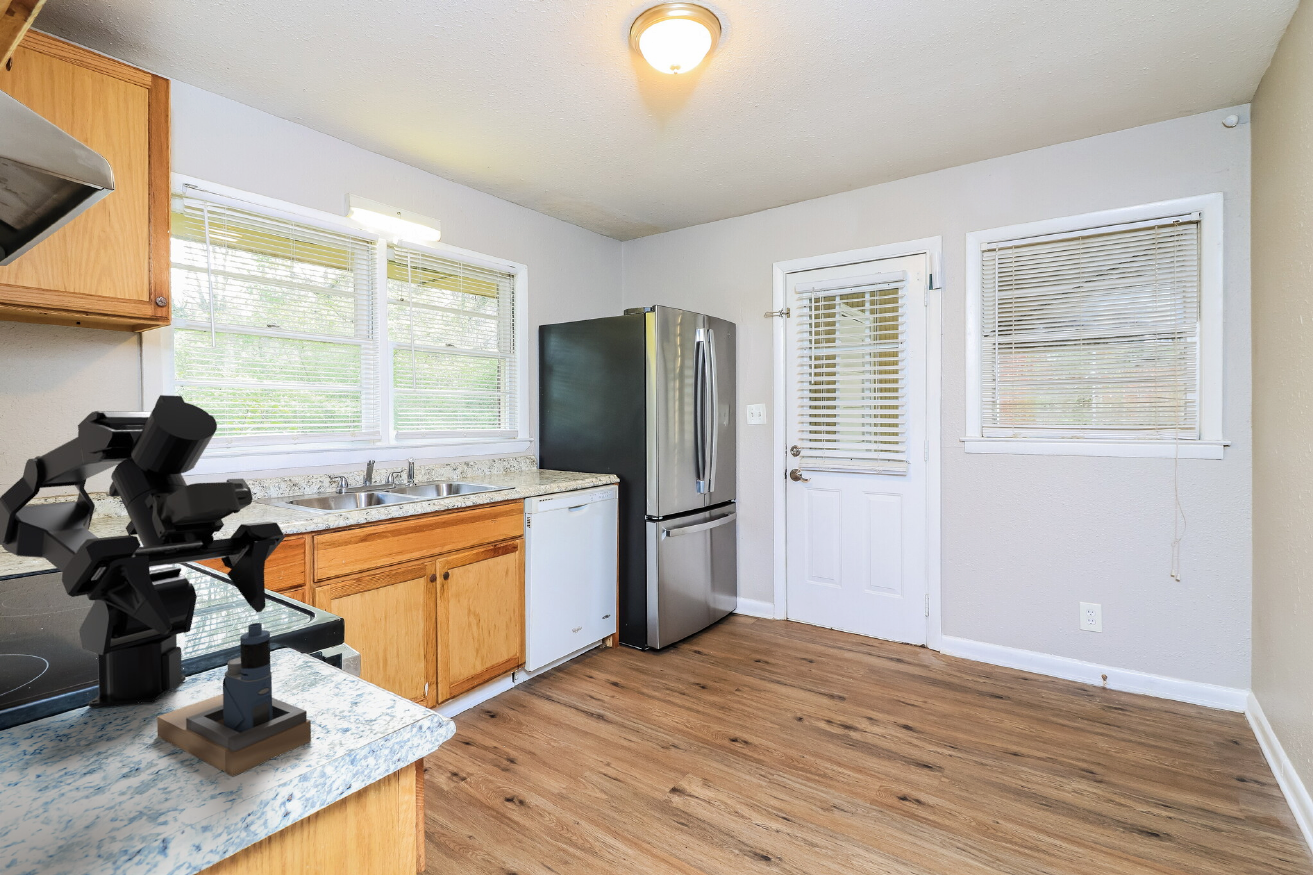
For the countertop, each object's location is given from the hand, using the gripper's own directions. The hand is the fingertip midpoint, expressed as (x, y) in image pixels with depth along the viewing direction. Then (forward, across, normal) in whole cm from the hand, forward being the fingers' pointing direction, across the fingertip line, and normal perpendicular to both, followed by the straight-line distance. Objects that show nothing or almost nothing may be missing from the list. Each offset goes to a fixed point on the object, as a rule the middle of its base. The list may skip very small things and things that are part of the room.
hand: (217, 619), depth 64 cm
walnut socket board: (+11, -1, +4) cm, 12 cm away
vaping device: (+13, -1, +2) cm, 13 cm away
